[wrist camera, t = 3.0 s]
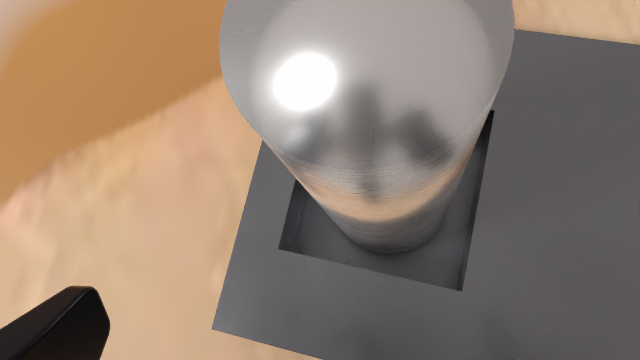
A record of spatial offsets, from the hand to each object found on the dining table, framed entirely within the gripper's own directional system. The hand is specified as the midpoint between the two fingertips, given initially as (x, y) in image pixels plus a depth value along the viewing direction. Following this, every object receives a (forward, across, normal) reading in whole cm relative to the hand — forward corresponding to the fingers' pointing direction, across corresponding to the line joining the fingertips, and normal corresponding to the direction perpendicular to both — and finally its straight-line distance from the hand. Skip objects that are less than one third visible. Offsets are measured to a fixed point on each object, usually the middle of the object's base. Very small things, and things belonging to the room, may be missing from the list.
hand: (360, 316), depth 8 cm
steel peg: (+10, 0, +5) cm, 11 cm away
